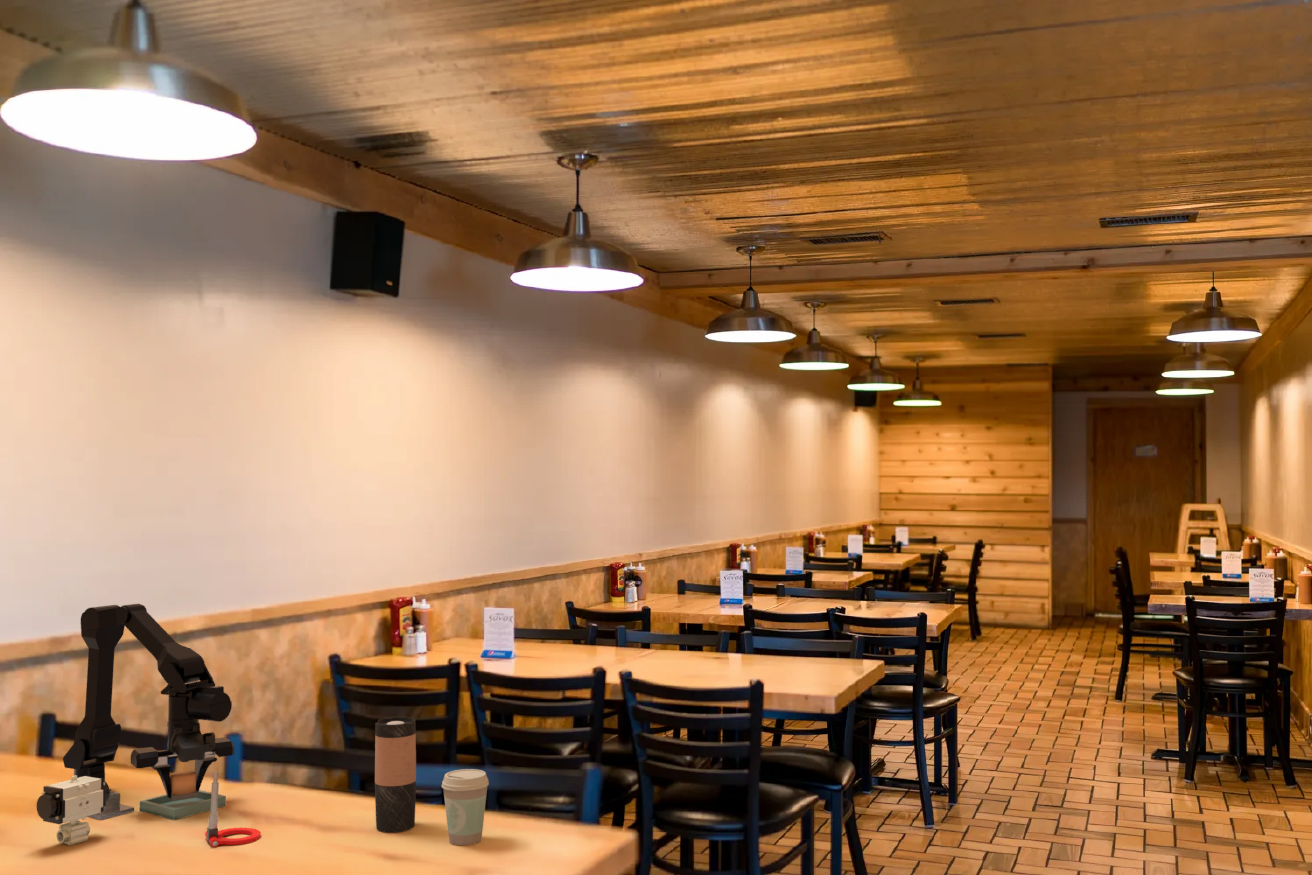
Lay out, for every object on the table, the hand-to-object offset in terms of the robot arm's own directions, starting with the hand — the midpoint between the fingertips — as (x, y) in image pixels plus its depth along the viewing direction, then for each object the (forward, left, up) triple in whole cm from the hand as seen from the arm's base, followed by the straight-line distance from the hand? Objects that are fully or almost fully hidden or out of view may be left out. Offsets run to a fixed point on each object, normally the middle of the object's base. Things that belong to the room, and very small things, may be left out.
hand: (182, 795), depth 231 cm
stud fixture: (-10, -10, -3) cm, 14 cm away
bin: (0, 0, -3) cm, 3 cm away
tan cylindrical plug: (0, 0, 0) cm, 0 cm away
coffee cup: (+63, +15, -3) cm, 65 cm away
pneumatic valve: (+3, -24, -3) cm, 24 cm away
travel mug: (+46, +14, -3) cm, 48 cm away
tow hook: (+26, -7, -3) cm, 27 cm away
